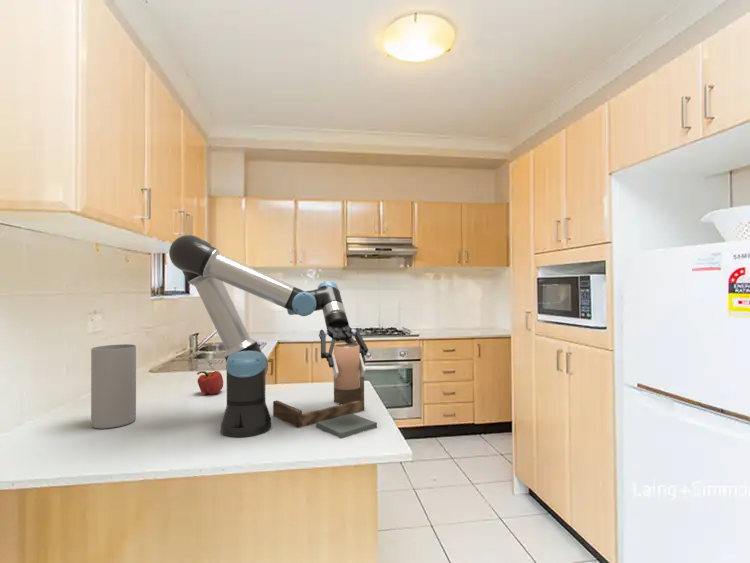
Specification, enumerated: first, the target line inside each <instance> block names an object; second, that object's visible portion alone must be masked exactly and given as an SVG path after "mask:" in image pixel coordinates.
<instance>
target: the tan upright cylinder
mask: <svg viewBox="0 0 750 563" xmlns="http://www.w3.org/2000/svg"><path fill="white" fill-rule="evenodd" d="M333 355H335V359H336V363H337V367H338V371H339V373H338V376H337V378H335V377H334V376H333V386H334V385H335V388H336V389H340V390H352V389H357V388H359V387H360V376H361V372H360V349H359V344H358V343H357V344H348V343H340V344H339V343H337V344H335V345H334V348H333Z"/></svg>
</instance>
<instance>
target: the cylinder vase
mask: <svg viewBox="0 0 750 563" xmlns="http://www.w3.org/2000/svg"><path fill="white" fill-rule="evenodd" d="M90 351H91V352H90V353H91V354H90V359H91V360H90V361H91V362H90V372H91V373H90V377H91V378H90V386H91V387H90V426H91V427H92V428H94V429H98V428H99V429H101V430H102V429H103V430H107V428H108V429H113V428H114V429H115V427H116V428H119V427H124V426H127V425H130V424H132V423H134V422H135V421H136V419H137V344H131V343H130V344H129V343H128V344H127V343H126V344H125V343H124V344H123V343H122V344H109V345H98V346H95V347H91V348H90ZM129 423H130V424H129ZM105 428H106V429H105ZM99 429H98V430H99Z"/></svg>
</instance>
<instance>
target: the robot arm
mask: <svg viewBox="0 0 750 563" xmlns="http://www.w3.org/2000/svg"><path fill="white" fill-rule="evenodd" d="M168 251H169V252H168V253H169V259H170V262H171V263H172V265H173V266H175V267H176V268H177V269H179V270H181V271H182V274H183V275H184V278H185V279H186V282H187V283H188V284H189V285H192V286H194V287H195V289H196V291H197V293H198V295H199V298H200V299H201V301H202V303H203V305H204V308H205V309H206V312H207V313H208V316H209V317H210V318H209V319H210V320H211V322H212V324H213V326H214V328H215V330H216V332H217V333H218V336H219V338H220V341H221V342H222V344H223V346H224V349H225V353H224V355H223V357H224V359H225V361H226V362H225V363H226V364H225V370H226V407H225V410H224V413H223V416H222V419H221V422H220V433H221V434H222V435H223V436H226V437H233V438H244V437H252V436H257V435H260V434H263V433H266V432H267V431H269V430H270V429H271V428H272V417H271V414H270V412H269V408H268V406H267V403H266V377H267V373H268V370H269V362H268V358H267V356H266V355H265V354H264V352H262V350H261V348H260V345H259V344H258V342H257V340H256V339H253V338H251V337H250V335H249V333H248V332H247V329H246V327H245V325H244V322H243V321H242V318H241V317H240V314H239V312H238V310H237V309H236V306H235V305H234V302H233V300H232V298H231V296H230V294H229V291H228V290H227V288H226V285H225V284H228V285H230V286H233V287H235V288H238V289H239V290H242V291H245V292H246V293H249V294H251V295H254V296H256V297H258V298H260V299H263V300H266V301H268V302H270V303H273V304H275V305H277V306H279V307H282V308H284V309H286V311H287V314H288V315H289V316H295V315H298V316H300V317H307V316H310V315H312V314H313V313H314V312H316V311H322V314H323V318H324V322H325V326H326V330H323V329H320V330H319V334H318V337H319V339H320V358H321V359H325V360H326V362H327V363H328V367H329V368H330V369H331V368H332V373H333V378H334V377H335V378H337V376H338V373H339V371H338V367H337V363H336V359H335V355H334V354H333V353H334V345H336V342H345V344H359V349H360V376H365V372H366V371H367V370H366V363H367V362H366V357H365V356H367V355H368V352H369V348H368V346H367V344H366V342H365V340H364V339H363V336H362V335H361V331H360V328H359V327H356V328H355V329H354V328H351V327H350V325H349V324H350V323H349V320H348V317H347V314H346V313H347V312H346V311H345V310H346V309H345V306H344V304H343V301H342V300H343V298H342V296H341V291H340V290H339V287H338V285H337V283H336V282H335V281H332V280H324V281H323V282H321V283H319V285H318V286H317V288H316V289H313V290H303V289H300V288H298V287H295V286H294V285H291V284H289V283H287V282H284V281H282V280H280V279H278V278H276V277H273V276H271V275H269V274H266V273H265V272H262V271H260V270H257V269H255V268H254V267H251V266H248V265H247V264H244V263H242V262H240V261H237V260H235V259H233V258H230V257H228V256H227V255H223V254H222V253H220V251H219V249H218V248H216V247H213V246H212V245H211V244H210V243H209V242H208V241H206V240H204V239H201V237H198V236H196V235H192V234H187V235H181V236H179V237H177V238H175V239H174V241H172V243H171V245H170V247H169V250H168ZM224 283H225V284H224ZM327 336H328V337H330V338H331V342H330V344H329V350H328V352H327V342H326V341H327V339H326V337H327ZM353 337H354V338H353Z"/></svg>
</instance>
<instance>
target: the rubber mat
mask: <svg viewBox="0 0 750 563" xmlns="http://www.w3.org/2000/svg"><path fill="white" fill-rule="evenodd" d="M315 428H317V429H319V430H321V431H323V432H326V433H328V434H330V435H333V436H335V437H337V438H339V439H343V438H347V437H350V436H354V435H356V434H360V433H363V431H364V432H366V431H370V430H373V429H376V428H378V422H376V421H373V420H370V419H367V418H365V417H363V416H360V415H357V414H355V413H353V414H352V413H351V414H347V415H343V416H339V417H336V418H332V419H328V420H324V421H320V422H316V423H315ZM353 434H354V435H353Z"/></svg>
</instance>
